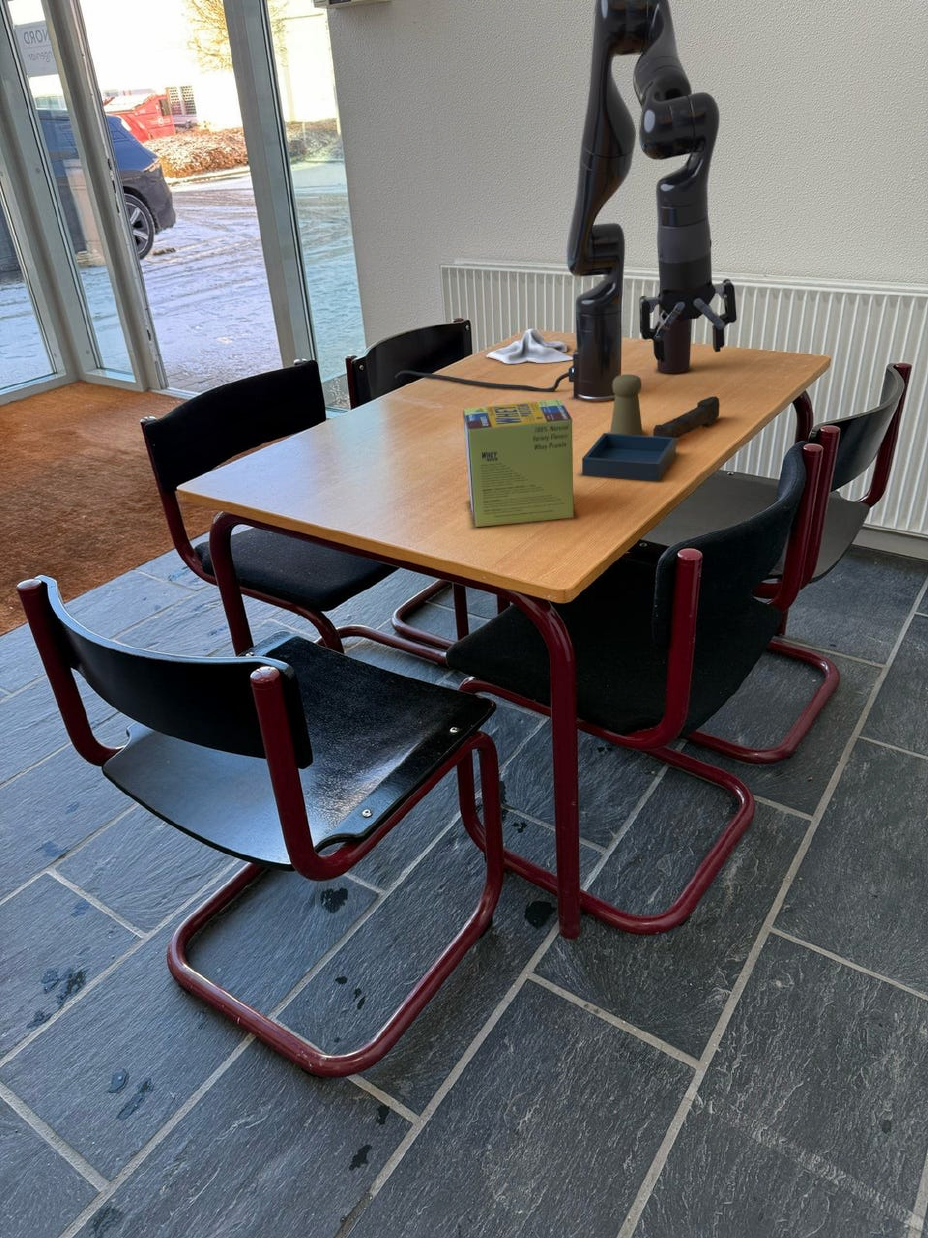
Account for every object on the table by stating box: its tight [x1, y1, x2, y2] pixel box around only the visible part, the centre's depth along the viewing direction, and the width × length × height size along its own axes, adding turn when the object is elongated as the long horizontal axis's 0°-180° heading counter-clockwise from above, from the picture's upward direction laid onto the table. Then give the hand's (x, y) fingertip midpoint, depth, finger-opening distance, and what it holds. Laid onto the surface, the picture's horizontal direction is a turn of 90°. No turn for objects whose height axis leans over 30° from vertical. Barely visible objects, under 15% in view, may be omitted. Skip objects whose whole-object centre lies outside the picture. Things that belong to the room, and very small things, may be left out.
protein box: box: [462, 398, 575, 528], centre depth 138 cm, size 10×15×16 cm
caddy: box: [581, 432, 677, 482], centre depth 154 cm, size 13×13×3 cm
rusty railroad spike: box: [652, 396, 721, 440], centre depth 166 cm, size 19×4×5 cm, turn 133°
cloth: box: [486, 328, 573, 365], centre depth 222 cm, size 22×19×6 cm
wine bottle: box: [656, 305, 693, 375], centre depth 195 cm, size 7×7×30 cm
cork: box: [609, 373, 644, 436], centre depth 165 cm, size 6×6×11 cm
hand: (689, 355), depth 142 cm, fingers open, 8 cm apart
